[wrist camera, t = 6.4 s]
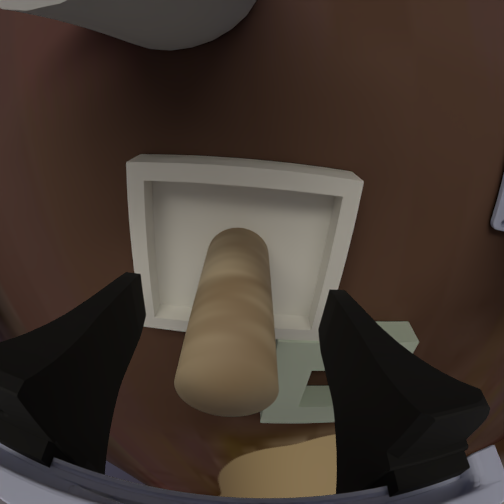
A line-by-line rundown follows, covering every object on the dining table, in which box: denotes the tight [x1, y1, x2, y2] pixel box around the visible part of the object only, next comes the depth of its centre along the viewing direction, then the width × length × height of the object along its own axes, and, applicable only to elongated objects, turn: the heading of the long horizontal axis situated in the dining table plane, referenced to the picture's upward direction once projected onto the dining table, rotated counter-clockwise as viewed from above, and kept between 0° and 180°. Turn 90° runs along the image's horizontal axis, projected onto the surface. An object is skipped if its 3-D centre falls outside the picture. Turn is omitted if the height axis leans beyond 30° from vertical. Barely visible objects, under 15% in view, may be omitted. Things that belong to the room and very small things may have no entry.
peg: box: [174, 228, 279, 417], centre depth 12 cm, size 3×3×8 cm
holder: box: [260, 321, 419, 423], centre depth 19 cm, size 9×9×2 cm
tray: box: [126, 154, 364, 341], centre depth 15 cm, size 10×9×2 cm
